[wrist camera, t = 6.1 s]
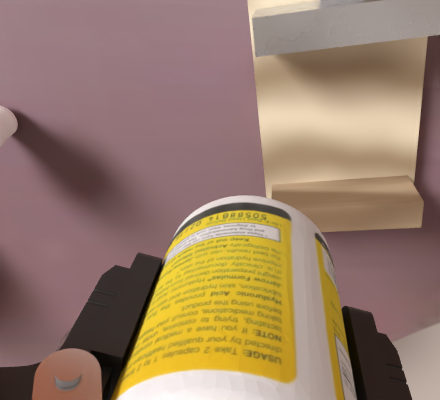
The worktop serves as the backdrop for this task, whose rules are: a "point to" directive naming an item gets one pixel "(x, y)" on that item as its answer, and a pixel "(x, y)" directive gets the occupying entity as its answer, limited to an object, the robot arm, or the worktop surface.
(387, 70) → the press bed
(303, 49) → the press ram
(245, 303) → the supplement bottle
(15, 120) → the lightbulb
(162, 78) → the worktop surface
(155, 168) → the worktop surface
